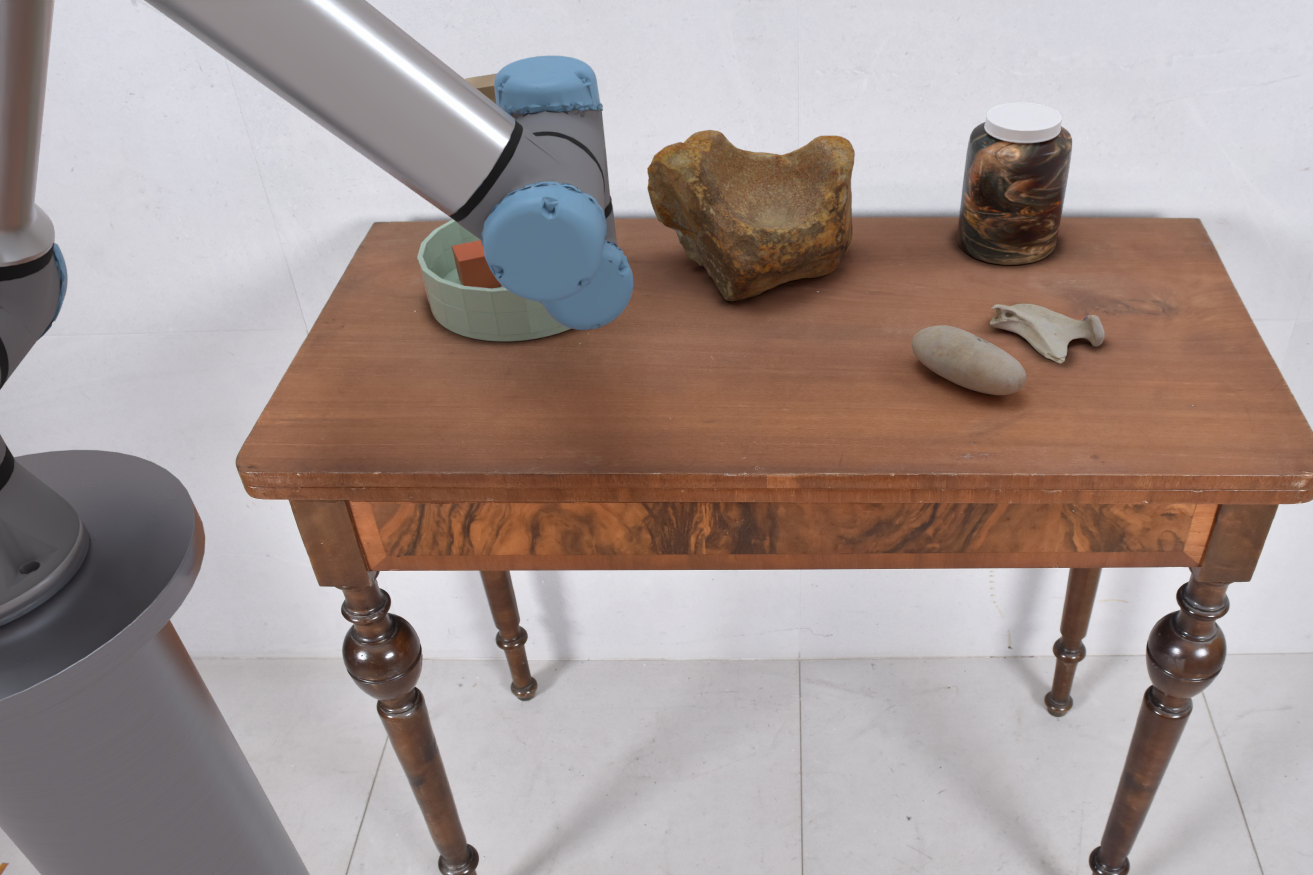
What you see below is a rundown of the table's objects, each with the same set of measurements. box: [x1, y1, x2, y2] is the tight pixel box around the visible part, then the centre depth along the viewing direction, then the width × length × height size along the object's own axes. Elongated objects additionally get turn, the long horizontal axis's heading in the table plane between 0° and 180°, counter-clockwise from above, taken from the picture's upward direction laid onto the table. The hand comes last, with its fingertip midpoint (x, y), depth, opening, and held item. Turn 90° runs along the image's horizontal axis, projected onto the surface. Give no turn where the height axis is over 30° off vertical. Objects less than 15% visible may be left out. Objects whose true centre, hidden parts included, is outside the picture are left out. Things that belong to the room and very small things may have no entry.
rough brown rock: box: [647, 129, 856, 302], centre depth 117 cm, size 23×17×15 cm
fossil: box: [989, 303, 1106, 364], centre depth 110 cm, size 7×11×3 cm, turn 45°
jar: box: [956, 101, 1073, 266], centre depth 122 cm, size 12×12×15 cm
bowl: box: [416, 218, 573, 342], centre depth 118 cm, size 20×20×6 cm
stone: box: [911, 324, 1027, 396], centre depth 103 cm, size 6×6×12 cm
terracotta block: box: [452, 240, 502, 289], centre depth 119 cm, size 4×4×4 cm
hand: (484, 123), depth 110 cm, fingers closed on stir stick, 3 cm apart
